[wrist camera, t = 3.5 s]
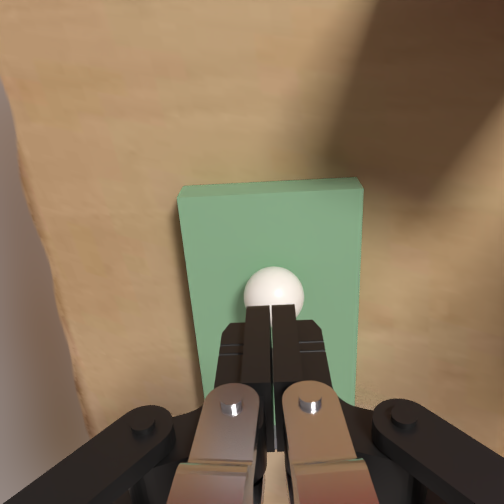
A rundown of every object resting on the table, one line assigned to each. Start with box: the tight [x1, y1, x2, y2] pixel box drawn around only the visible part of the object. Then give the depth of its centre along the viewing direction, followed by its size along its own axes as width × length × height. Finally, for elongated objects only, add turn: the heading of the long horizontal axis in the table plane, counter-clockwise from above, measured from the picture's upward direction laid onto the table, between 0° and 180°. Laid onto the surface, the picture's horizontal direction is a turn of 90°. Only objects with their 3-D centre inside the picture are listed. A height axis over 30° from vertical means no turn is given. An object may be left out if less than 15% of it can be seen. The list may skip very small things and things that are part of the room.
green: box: [177, 177, 364, 449], centre depth 32 cm, size 22×12×11 cm, turn 4°
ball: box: [244, 266, 304, 327], centre depth 31 cm, size 4×4×4 cm
